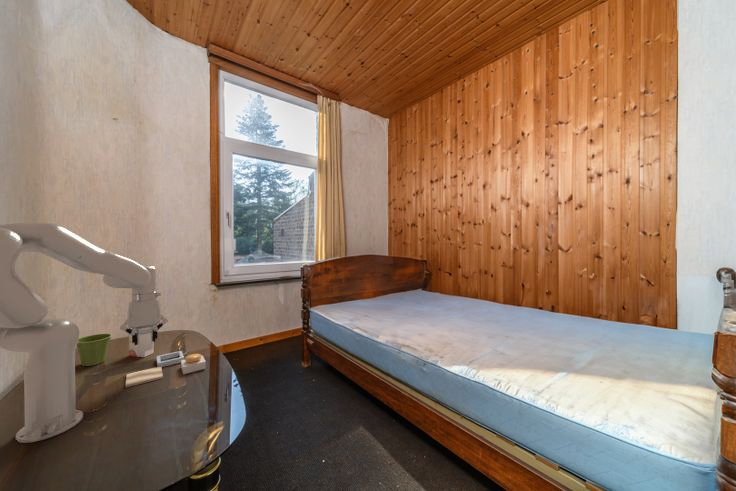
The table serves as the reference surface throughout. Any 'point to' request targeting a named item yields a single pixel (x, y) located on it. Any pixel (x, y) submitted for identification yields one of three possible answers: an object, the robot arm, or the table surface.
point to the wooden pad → (143, 376)
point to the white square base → (193, 365)
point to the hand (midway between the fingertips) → (145, 341)
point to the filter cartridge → (144, 338)
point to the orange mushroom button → (193, 358)
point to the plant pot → (93, 348)
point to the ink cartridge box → (134, 351)
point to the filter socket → (168, 356)
